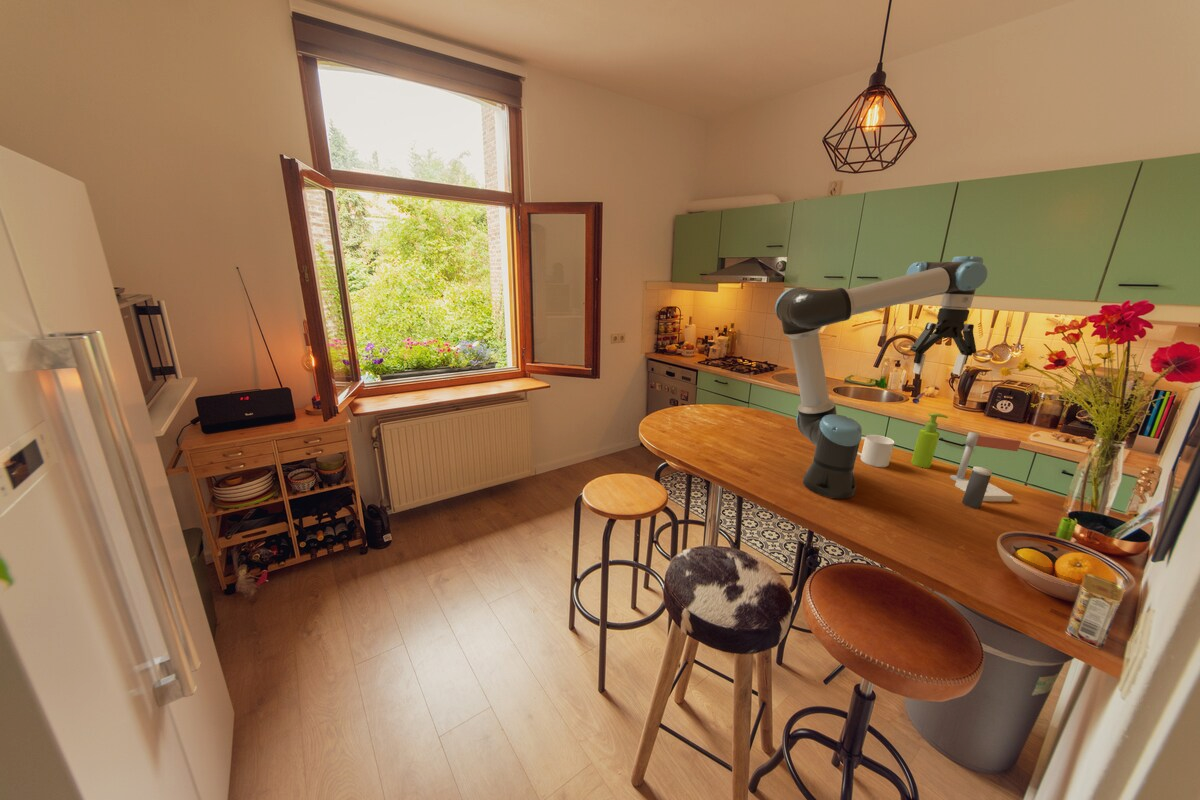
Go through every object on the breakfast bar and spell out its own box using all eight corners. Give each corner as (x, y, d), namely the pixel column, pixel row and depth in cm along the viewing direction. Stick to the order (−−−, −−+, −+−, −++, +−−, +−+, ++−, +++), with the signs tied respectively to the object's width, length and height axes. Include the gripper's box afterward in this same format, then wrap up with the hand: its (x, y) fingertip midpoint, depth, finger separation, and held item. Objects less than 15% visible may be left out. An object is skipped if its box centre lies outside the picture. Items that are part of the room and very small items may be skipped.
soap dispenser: (936, 469, 157) (951, 417, 151) (915, 467, 158) (929, 415, 152) (928, 462, 162) (942, 412, 156) (908, 460, 163) (921, 410, 157)
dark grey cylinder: (970, 508, 131) (982, 473, 127) (958, 500, 135) (969, 466, 131) (984, 508, 131) (996, 473, 127) (971, 501, 135) (983, 466, 132)
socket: (980, 501, 135) (993, 463, 131) (941, 477, 150) (951, 443, 146) (1011, 501, 136) (1024, 464, 132) (968, 477, 151) (979, 443, 147)
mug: (893, 464, 159) (899, 441, 157) (880, 469, 155) (886, 445, 152) (860, 452, 169) (865, 430, 166) (847, 457, 165) (852, 434, 162)
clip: (1018, 452, 139) (1022, 441, 138) (967, 445, 144) (970, 434, 143) (1014, 449, 142) (1017, 437, 141) (963, 442, 146) (966, 431, 145)
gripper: (925, 308, 130) (908, 375, 137) (1003, 310, 131) (983, 377, 138) (907, 305, 137) (892, 370, 144) (982, 308, 138) (963, 371, 145)
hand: (936, 373), depth 141 cm, fingers open, 13 cm apart
